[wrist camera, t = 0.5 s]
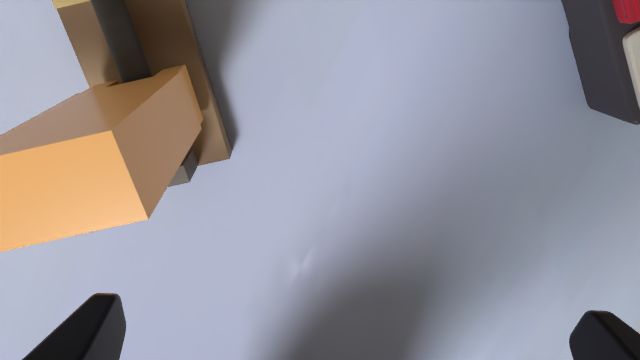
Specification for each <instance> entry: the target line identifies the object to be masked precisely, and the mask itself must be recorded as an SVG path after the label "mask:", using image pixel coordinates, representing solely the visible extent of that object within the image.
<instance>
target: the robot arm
mask: <svg viewBox="0 0 640 360" xmlns="http://www.w3.org/2000/svg"><path fill="white" fill-rule="evenodd" d="M125 332H126V321H125V316H124V312H123V307H122V302H121V298H120V296H119V295H118V294H114V293H96V294H94V295H92V296H91V297H90V298H89V299H88V300H87V301H85V302H84V303H83V304H82V305H81V306H80V307H79V308H78V309H77V310H76V311H75V312H73V313H72V314H71V315H70V316H69V317H68V318H67V319H66V320H65V321H64V322H63V323H61V324H60V325H59V326H58V327H57V328H56V329H55V330H54V331H53V332H52V333H51V334H49V335H48V336H47V337H46V338H45V339H44V340H43V341H42V342H41V343H40V344H39V345H37V346H36V347H35V348H34V349H33V350H32V351H31V352H30V353H29V354H28V355H27V356H25V357H24V358H23V359H22V360H119V358H120V354H121V350H122V346H123V341H124V337H125ZM569 344H570V349H571V353H572V356H573V359H574V360H640V334H639V333H638V332H636V331H635V330H634V329H632V328H631V327H630V326H629V325H627V324H626V323H625V322H623V321H622V320H621V319H619V318H618V317H617V316H615V315H614V314H613V313H611V312H608V311H596V310H590V311H587V312H586V313H585V314H584V315H583V316H582V318H581V319H580V321H579V322H578V324H577V325H576V327H575V329H574V330H573V332H572V333H571V335H570V339H569Z"/></svg>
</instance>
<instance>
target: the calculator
mask: <svg viewBox="0 0 640 360" xmlns="http://www.w3.org/2000/svg"><path fill="white" fill-rule="evenodd" d="M562 3H563V7H564V10H565V13H566V17H567V20H568V24H569V38H570V42H571V45H572V49H573V53H574V56H575V60H576V64H577V68H578V71H579V75H580V79H581V82H582V86H583V90H584V93H585V97H586V101H587V104H588V106H589V107H590V108H591V109H594V110H596V111H599V112H602V113H604V114H607V115H610V116H612V117H615V118H618V119H621V120H623V121H626V122H629V123H632V124H636V125H638V124H640V0H562Z"/></svg>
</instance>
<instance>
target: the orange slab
mask: <svg viewBox="0 0 640 360" xmlns="http://www.w3.org/2000/svg"><path fill="white" fill-rule="evenodd" d="M202 121H203V117H202V114H201V111H200V108H199V104H198V101H197V98H196V95H195V92H194V89H193V86H192V83H191V80H190V77H189V74H188V71H187V68H186V65H180V66H176V67H172V68H167V69H163V70H161V71H160V72H159V73H157V74H156V75H155V76H153V77H149V78H145V79H140V80H136V81H131V82H127V83H123V84H120V83H119V81H118V80H115V81H111V82H106V83H102V84H98V85H95V86H93V87H91V88H89V89H87V90H86V91H84V92H82V93H79V94H76V95H74V96H72V97H70V98H68V99H66V100H65V101H63V102H61V103H59V104H57V105H55V106H54V107H52V108H50V109H48V110H46V111H44V112H42V113H41V114H39V115H37V116H35V117H33V118H31V119H30V120H28V121H26V122H24V123H22V124H20V125H19V126H17V127H15V128H13V129H11V130H9V131H8V132H6V133H4V134H2V135H0V252H2V251H7V250H11V249H16V248H20V247H25V246H29V245H34V244H38V243H43V242H48V241H52V240H57V239H61V238H66V237H70V236H75V235H80V234H84V233H89V232H93V231H98V230H102V229H107V228H111V227H116V226H121V225H125V224H130V223H134V222H139V221H143V220H148V219H149V217H150V216H151V214H152V212H153V211H154V209H155V207H156V206H157V204H158V202H159V200H160V199H161V197H162V195H163V194H164V192H165V190H166V189H167V187H168V185H169V183H170V182H171V180H172V178H173V177H174V175H175V173H176V171H177V170H178V168H179V166H180V165H181V163H182V161H183V160H184V158H185V156H186V154H187V153H188V151H189V149H190V148H191V146H192V144H193V142H194V141H195V139H196V137H197V136H198V134H199V132H200V131H201V129H202V128H201V125H200V124H201V122H202Z"/></svg>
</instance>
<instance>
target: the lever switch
mask: <svg viewBox="0 0 640 360" xmlns="http://www.w3.org/2000/svg"><path fill="white" fill-rule="evenodd" d="M52 2H53V4H54V6H55V9H57V11H58V13H59V15H60V18H61V20H62V23H63V25H64V27H65V30H66V32H67V35H68V37H69V39H70V42H71V44H72V46H73V49H74V51H75V54H76V56H77V58H78V61H79V63H80V65H81V68H82V70H83V73H84V75H85V77H86V80H87V82H88V85H89V87H90V88H91V87H93V86H95V85H98V84H102V83H106V82H111V81H115V80H118V81H119V83H120V84H123V83H127V82H131V81H136V80H140V79H145V78H149V77H153V76H155V75H156V74H157V73H159V72H160V71H161V70H163V69H167V68H172V67H176V66H180V65H186V68H187V71H188V74H189V77H190V80H191V83H192V86H193V89H194V92H195V95H196V98H197V101H198V104H199V108H200V111H201V114H202V117H203V121H202V122H201V124H200V125H201V128H202V129H201V131H200V132H199V134H198V136H197V137H196V139H195V141H194V142H193V144H192V146H191V148H190V149H189V151H188V153H187V154H186V156H185V158H184V160H183V161H182V163H181V165H180V166H179V168H178V170H177V171H176V173H175V175H174V177H173V178H172V180H171V182H170V183H169V185H168V187H170V186H174V185H179V184H183V183H188V182H190V180H191V178H192V176H193V174H194V172H195V170H196V168H197V166H199V165H204V164H208V163H213V162H217V161H222V160H226V159H230V156H231V153H232V150H231V147H230V143H229V140H228V137H227V134H226V131H225V127H224V124H223V121H222V118H221V115H220V111H219V108H218V105H217V102H216V98H215V95H214V92H213V89H212V86H211V82H210V79H209V76H208V73H207V69H206V66H205V63H204V60H203V57H202V53H201V50H200V47H199V44H198V41H197V37H196V34H195V31H194V28H193V24H192V21H191V18H190V15H189V12H188V8H187V5H186V2H185V0H52Z"/></svg>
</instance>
